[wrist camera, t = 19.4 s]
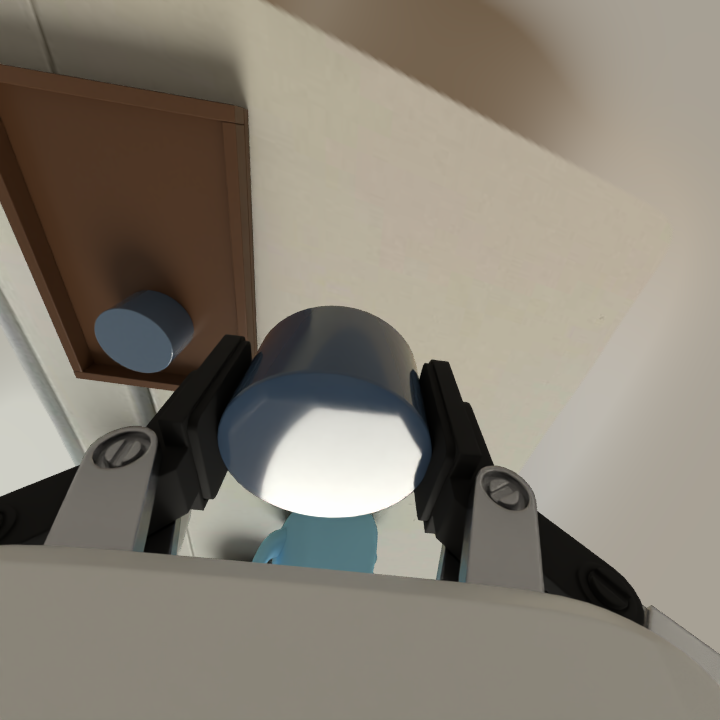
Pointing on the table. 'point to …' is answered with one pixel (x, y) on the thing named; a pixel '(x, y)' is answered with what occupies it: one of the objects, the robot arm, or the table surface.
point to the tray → (128, 210)
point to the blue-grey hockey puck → (328, 416)
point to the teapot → (323, 543)
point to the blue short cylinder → (144, 331)
